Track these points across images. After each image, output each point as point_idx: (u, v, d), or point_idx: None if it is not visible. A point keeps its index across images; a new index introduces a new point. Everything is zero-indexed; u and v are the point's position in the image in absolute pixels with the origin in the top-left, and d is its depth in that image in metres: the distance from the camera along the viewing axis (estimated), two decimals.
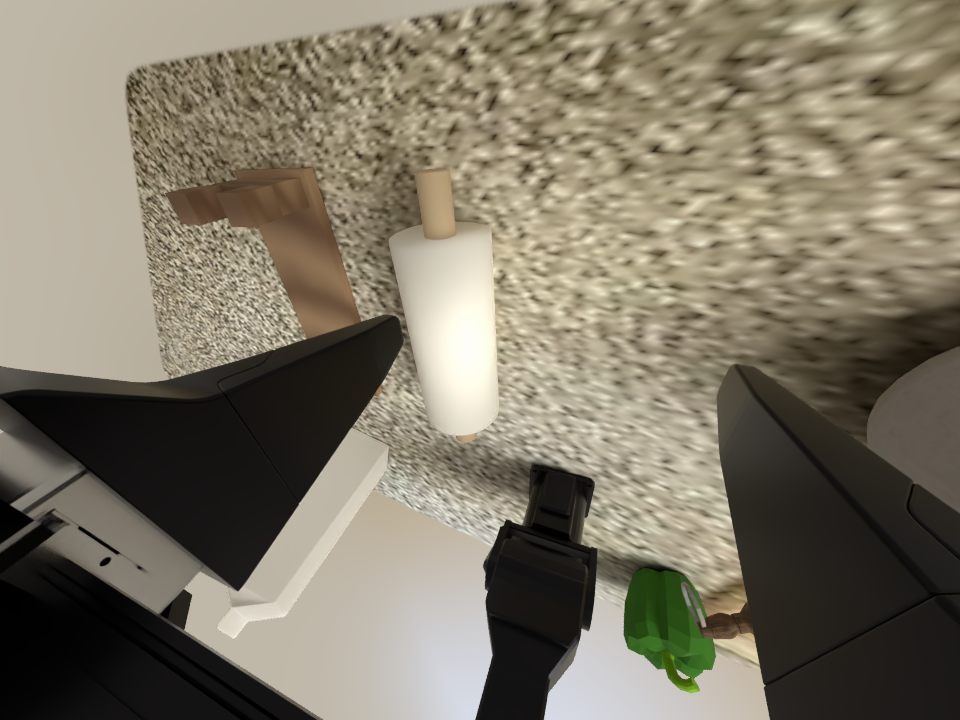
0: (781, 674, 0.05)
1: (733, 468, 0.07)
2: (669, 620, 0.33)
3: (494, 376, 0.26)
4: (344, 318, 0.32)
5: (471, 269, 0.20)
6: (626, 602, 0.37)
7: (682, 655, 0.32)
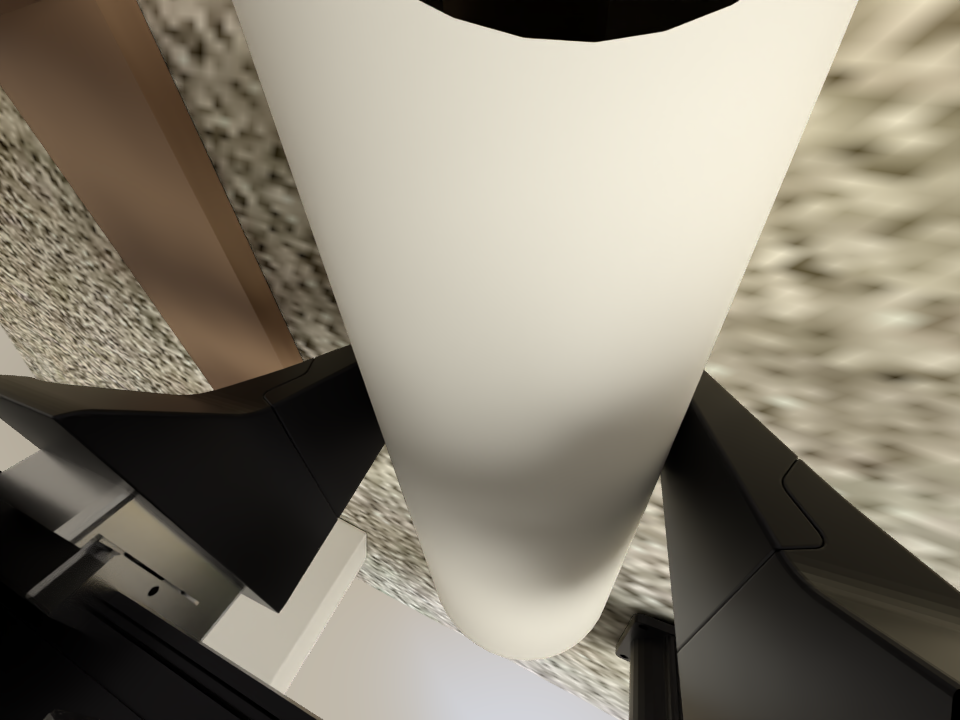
0: (688, 639, 0.05)
1: None
2: None
3: None
4: (249, 327, 0.14)
5: None
6: None
7: None
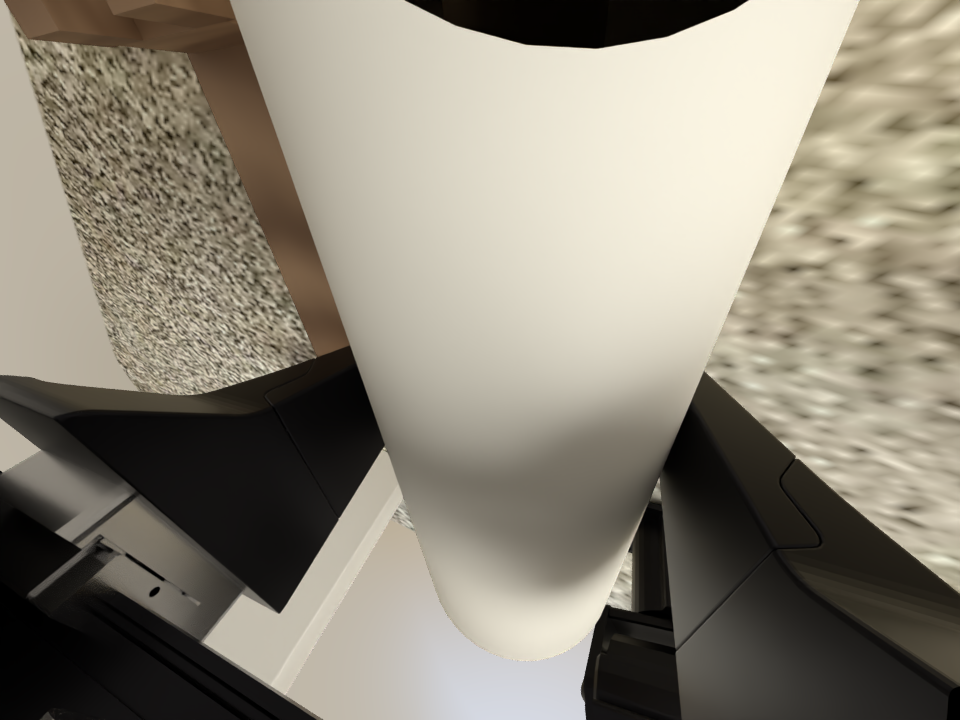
0: (686, 639, 0.05)
1: None
2: None
3: None
4: None
5: None
6: None
7: None
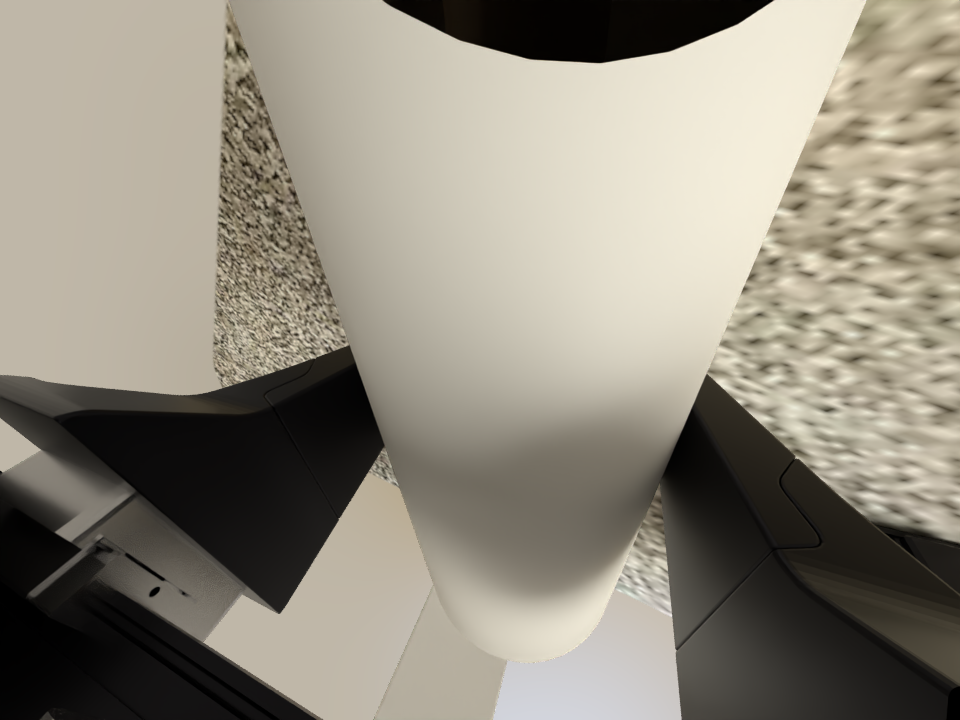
0: (686, 638, 0.05)
1: None
2: None
3: None
4: None
5: None
6: None
7: None
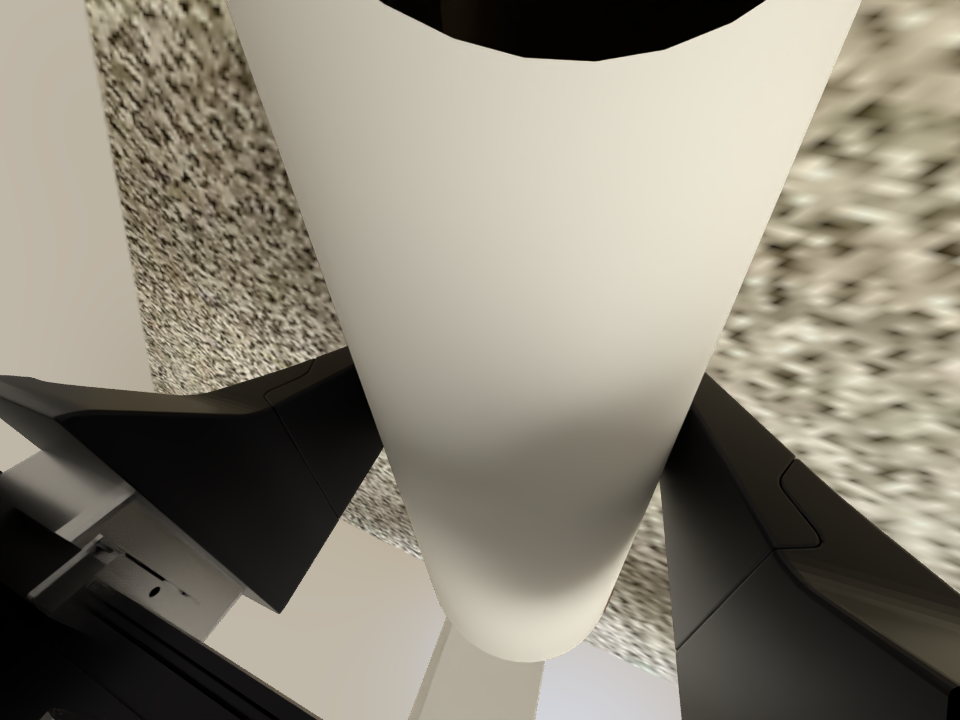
0: (686, 638, 0.05)
1: None
2: None
3: None
4: None
5: None
6: None
7: None
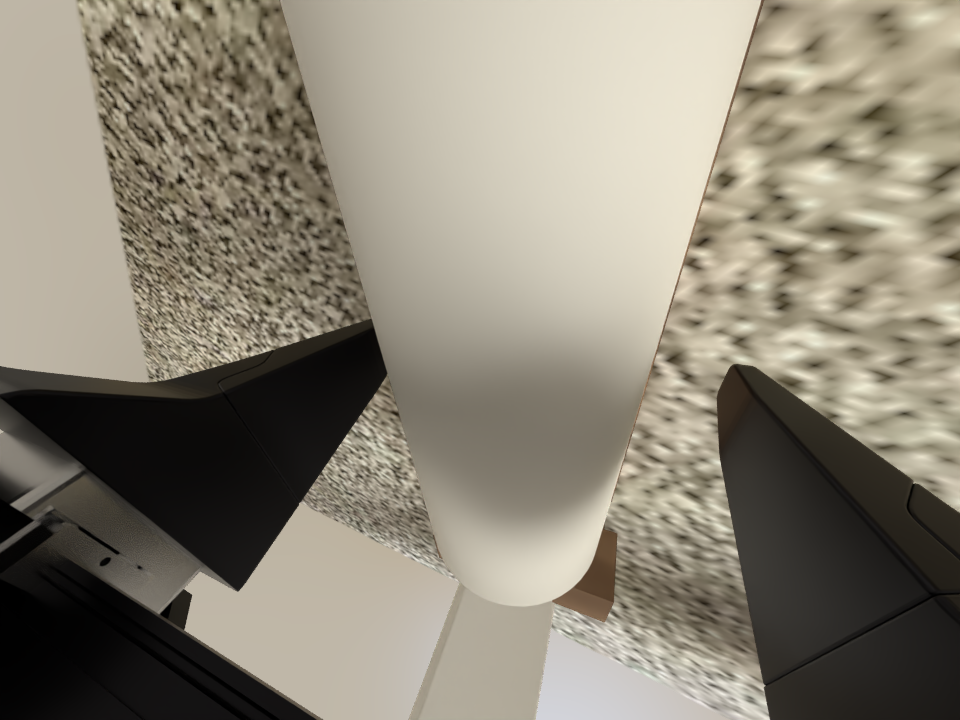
0: (782, 675, 0.05)
1: (733, 468, 0.07)
2: None
3: (597, 510, 0.09)
4: None
5: None
6: None
7: None
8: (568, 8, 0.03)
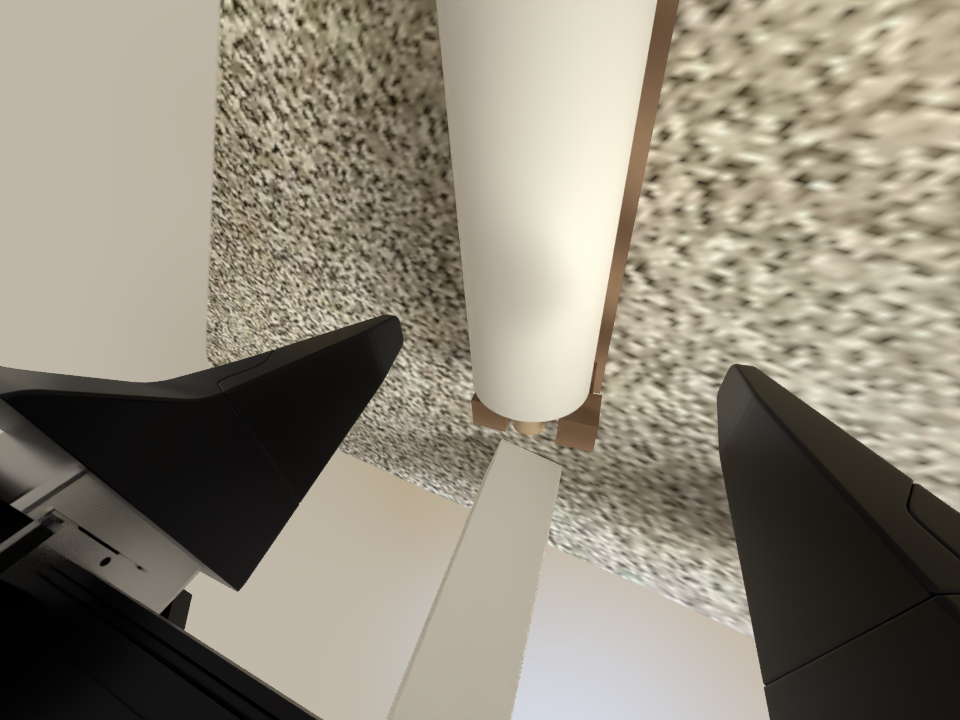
0: (782, 674, 0.05)
1: (733, 468, 0.07)
2: None
3: (589, 334, 0.14)
4: None
5: (584, 36, 0.08)
6: None
7: None
8: (578, 44, 0.08)
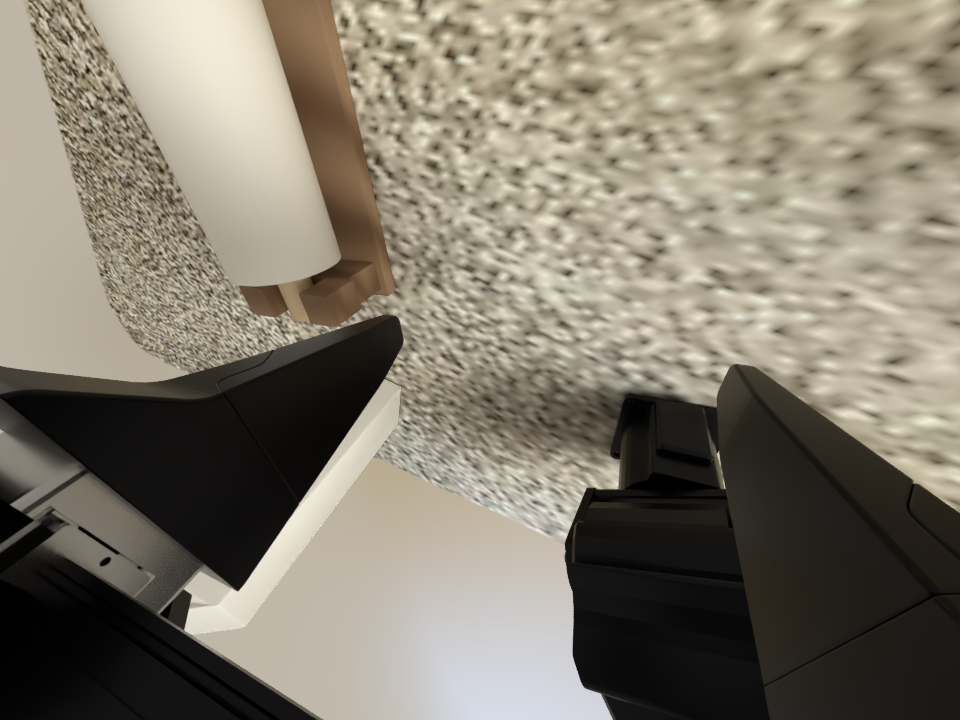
0: (782, 674, 0.05)
1: (733, 468, 0.07)
2: None
3: (278, 191, 0.17)
4: (337, 139, 0.19)
5: None
6: None
7: None
8: None
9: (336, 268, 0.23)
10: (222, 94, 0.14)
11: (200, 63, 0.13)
